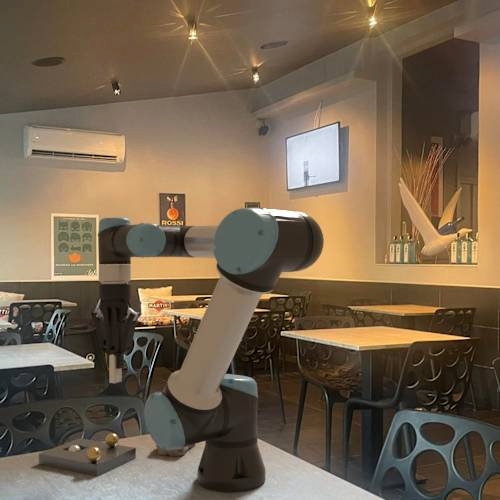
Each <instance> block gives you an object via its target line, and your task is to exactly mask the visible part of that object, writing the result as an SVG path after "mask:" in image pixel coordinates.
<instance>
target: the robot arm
mask: <svg viewBox="0 0 500 500" xmlns="http://www.w3.org/2000/svg"><path fill="white" fill-rule="evenodd" d="M97 238H98V239H97V240H98V241H97V243H98V246H97V247H98V249H97V250H98V251H97V252H98V281H99V283H100V284H99V285H98V299H99V300H100V303H99V305H98V306H99V308H97V309H96V310H94V311H91V313H90V315H91V318H92V320H93V322H94V325H95V331H96V337H97V341H98V346H99V351H100V352H103V353H105V354H106V362H107V363H106V366H107V369H108V370H109V374H108V375H109V376H108V377H109V378H108V379H109V380H108V382H109V383H110V384H117V383H120V382H121V383H122V381H123V380H122V379H123V378H122V377H123V375H122V374H123V373H122V369H123V368H124V366H125V364H124V363H125V362H124V361H125V357H124V356H125V354H126V353H130V352H131V350H132V349H133V348H132V346H133V341H134V336H135V332H136V326H137V321H138V320H139V318H140V314H141V313H140V312H138V311H135V310H133V308H132V304H131V302H130V300H131V298H132V284H131V283H129V282H130V281H131V280H132V276H131V275H132V274H131V273H132V272H131V264H132V263H131V258H142V259H143V258H202V259H203V258H205V259H207V258H208V259H215V262H217V263H216V265H215V266H216V271H217V272H218V274H219V278H218V281H217V282H216V286H215V288H214V290H213V292H212V294H211V297H210V300H209V301H208V304H207V307H206V309H205V311H204V313H203V316H202V318H201V320H200V322H199V325H198V327H197V330H196V332H195V334H194V336H193V339H192V342H191V344H190V347H189V348H188V350H187V354H186V356H185V357H184V360H183V363H182V365H181V368H180V369H178V370H175V371H174V372H172V373H171V374H170V376H169V377H168V378H167V380H166V383H165V386H164V389H163V390H162V391H156V392H153V393H151V394H150V395H149V396H148V397H147V398H146V401H145V404H144V420H145V425H146V429H147V431H148V434H149V436H150V438H151V439H152V441H153V442H154V443H156V444H157V445H158V446H159V447H160V448H162V449H165V450H173V449H181V448H183V447H186V446H189V445H193V444H195V445H197V444H199V443H202V442H205V444H204V448H203V450H202V451H203V452H202V455H201V458H200V462H199V464H198V467H197V472H196V473H197V479H196V480H197V483H198V484H199V485H200V486H202V487H203V488H206V489H209V490H212V491H218V492H230V493H231V492H243V491H250V490H252V489H255V488H258V487H260V486H262V485H263V484H264V483H265V482H266V467H265V464H264V460H263V456H262V454H261V451H260V448H259V444H258V423H259V422H258V421H259V418H258V415H259V414H258V413H259V411H258V410H259V408H258V407H259V395H258V383H257V382H256V380H255V379H254V378H253V377H249V376H246V375H239V374H231V373H227V371H228V369H229V367H230V366H231V365H230V364H231V363H232V360H233V358H234V356H235V354H236V352H237V349H238V348H239V346H240V344H241V341H242V339H243V337H244V334H245V332H246V330H247V329H248V325H249V323H250V322H251V320H252V318H253V315H254V312H255V311H256V309H257V307H258V304H259V302H260V300H261V298H262V295H265V294H270V293H272V292H273V291H274V289H275V287H276V285H277V284H278V283H277V282H278V281H279V279H280V276H281V274H282V273H294V272H300V271H304V270H307V269H308V268H310V267H312V266H313V265H314V264H315V263H316V262H317V261H318V260H319V258H320V257H321V254H322V252H323V249H324V244H325V243H324V242H325V241H324V233H323V231H322V228H321V226H320V225H319V223H318V222H317V221H316V219H314V218H313V217H312V216H311V215H309V214H307V213H304V212H301V211H296V210H280V209H267V208H264V207H261V206H258V207H257V206H254V207H253V206H252V207H243V208H237V209H235V210H233V211H230V212H229V213H227V214H226V215H225V216H224V218H222V220H221V221H220V223H219V224H218V225H216V224H214V225H212V224H211V225H164V224H163V225H162V224H155V223H149V222H145V223H144V222H141V223H138V224H137V223H135V224H131V221H130V219H129V218H126V217H103V218H101V219H100V220H99V222H98V232H97ZM156 444H155V445H156Z"/></svg>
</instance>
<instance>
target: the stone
mask: <svg viewBox="0 0 500 500" xmlns="http://www.w3.org/2000/svg"><path fill="white" fill-rule="evenodd" d="M154 443H155V442H154ZM155 445H156V448H157V451H156V452H157V454H158V455H160V456H170V457H180V456H183V455H186V452H187V451H188V450H189V449H191V448H193V447H194V446H195V445H196V444H193V445H189V446H186V447H183V448H181V449H173V450H165V449H162V448H160V447H159V446H158V445H157V444H156V443H155Z"/></svg>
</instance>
